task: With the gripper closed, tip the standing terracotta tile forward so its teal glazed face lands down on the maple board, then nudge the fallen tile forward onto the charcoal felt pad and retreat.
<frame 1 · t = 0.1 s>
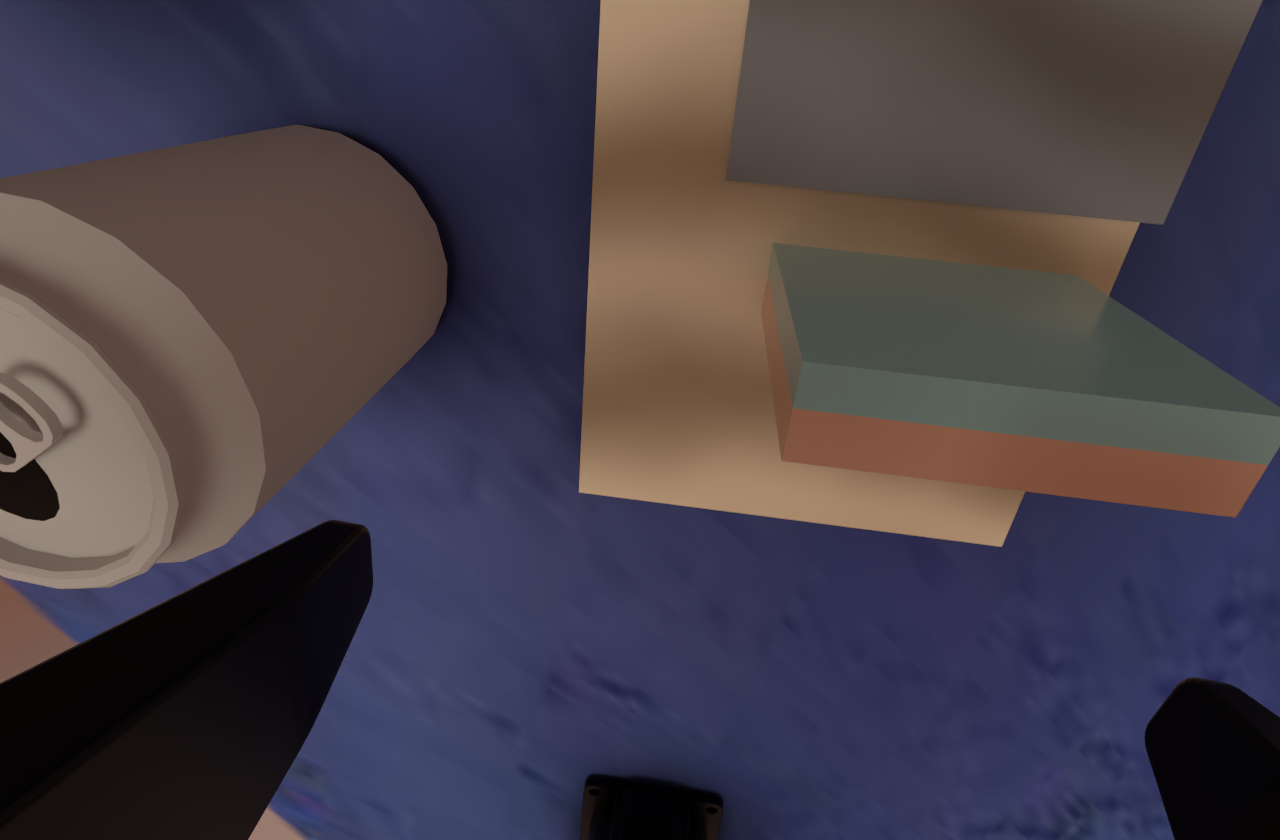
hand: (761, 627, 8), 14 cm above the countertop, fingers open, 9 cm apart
tile: (913, 294, 19), point 1 cm above the countertop, touching board
can: (343, 250, 22), on the countertop
board: (849, 203, 19), on the countertop
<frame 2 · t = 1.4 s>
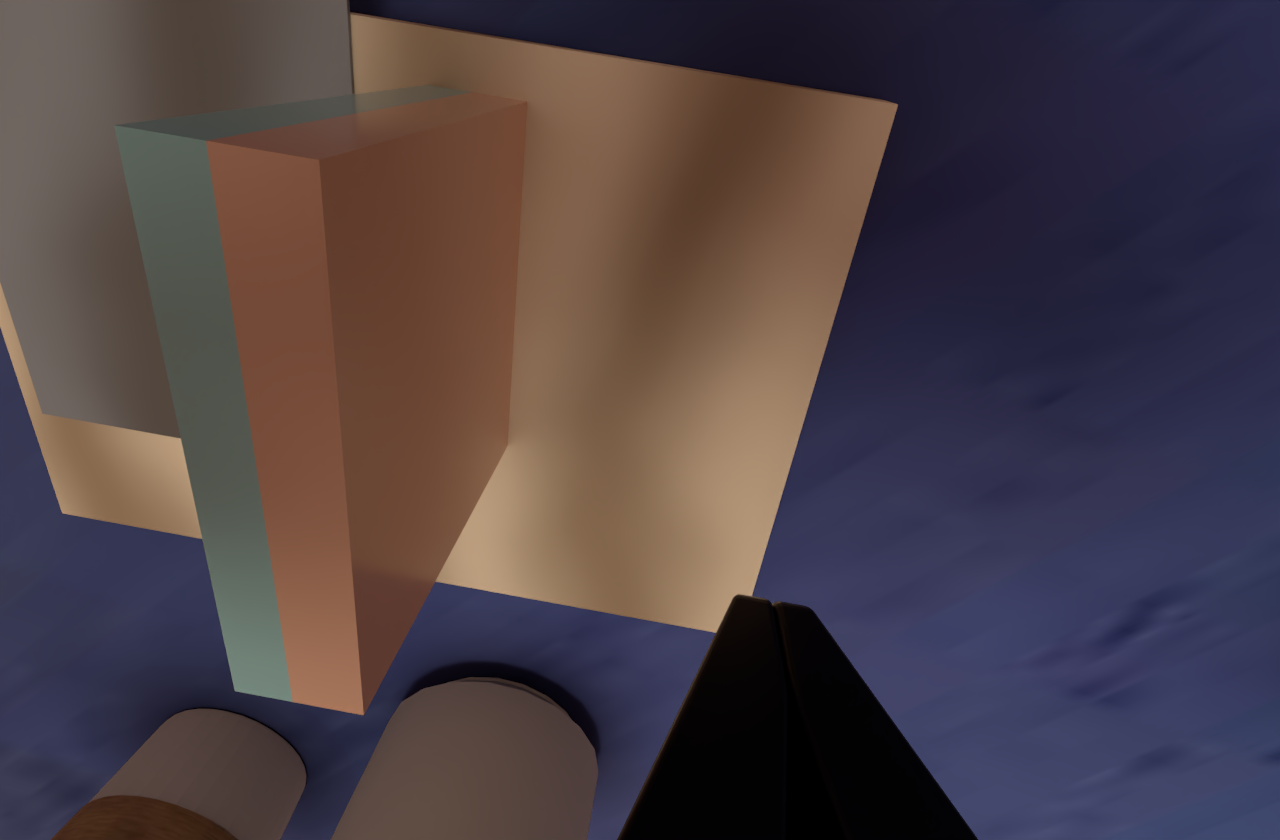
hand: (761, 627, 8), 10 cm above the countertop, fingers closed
tile: (472, 287, 15), point 1 cm above the countertop, touching board
can: (500, 729, 25), on the countertop
coffee cup: (237, 754, 27), on the countertop
board: (408, 335, 18), on the countertop
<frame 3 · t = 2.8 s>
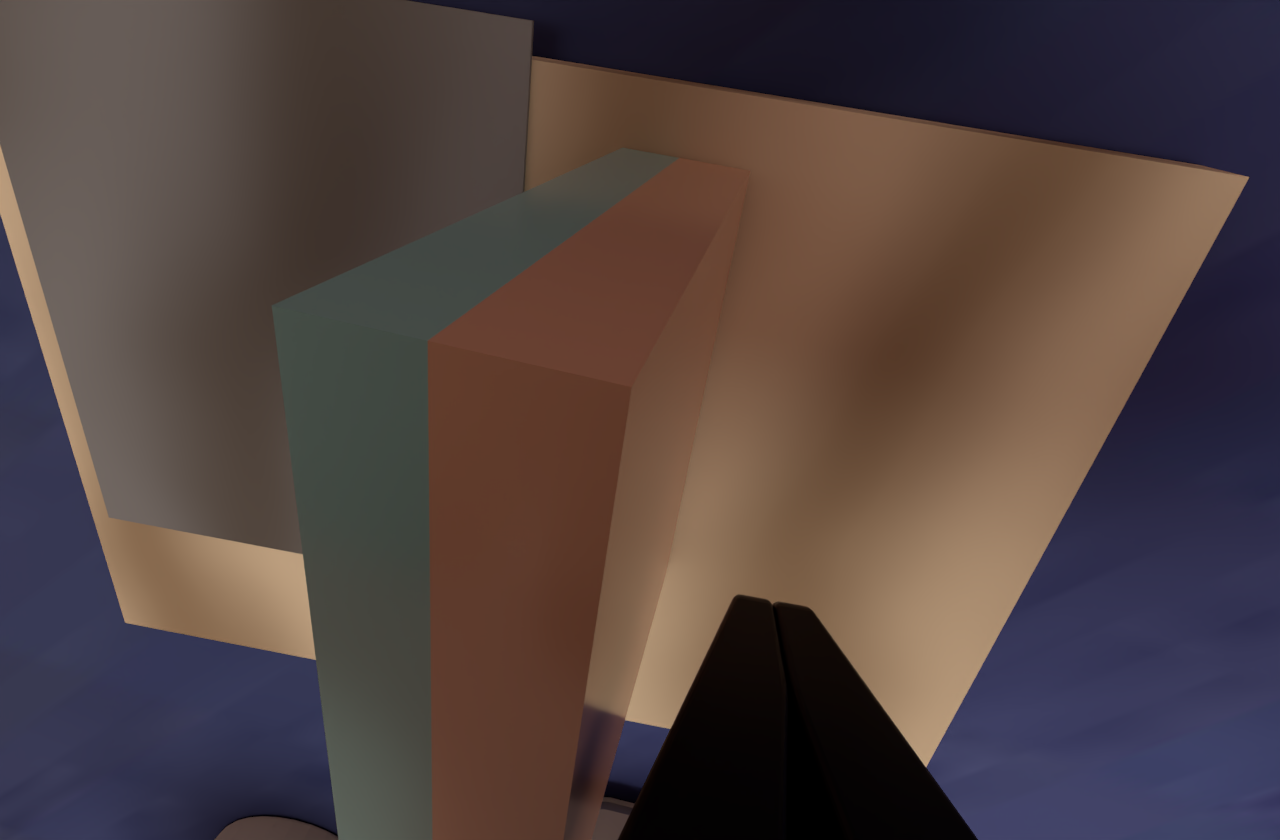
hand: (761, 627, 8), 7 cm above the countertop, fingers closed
tile: (647, 390, 12), point 1 cm above the countertop, tilted 6°, touching board
board: (547, 431, 15), on the countertop
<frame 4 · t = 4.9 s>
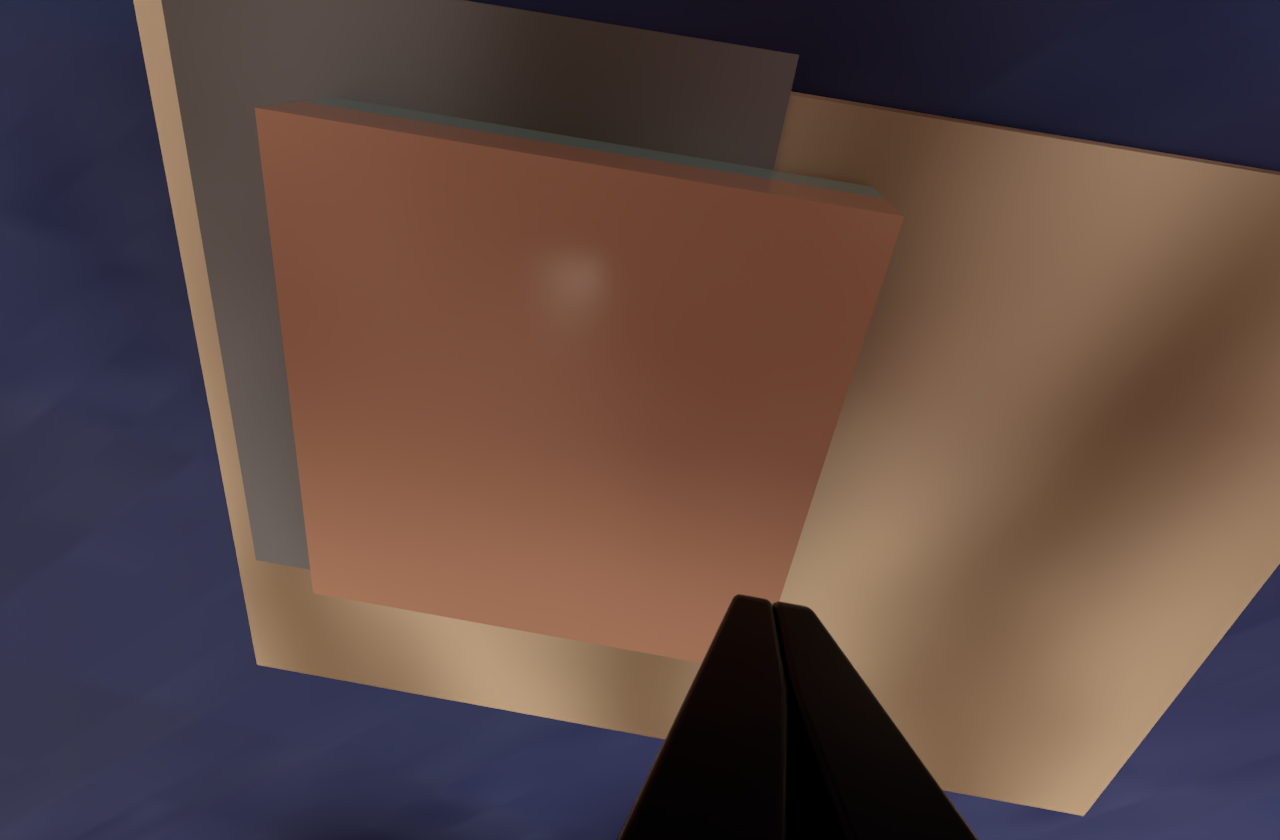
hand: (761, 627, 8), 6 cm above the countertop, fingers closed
tile: (808, 453, 11), point 2 cm above the countertop, tilted 90°, touching board
board: (724, 469, 14), on the countertop
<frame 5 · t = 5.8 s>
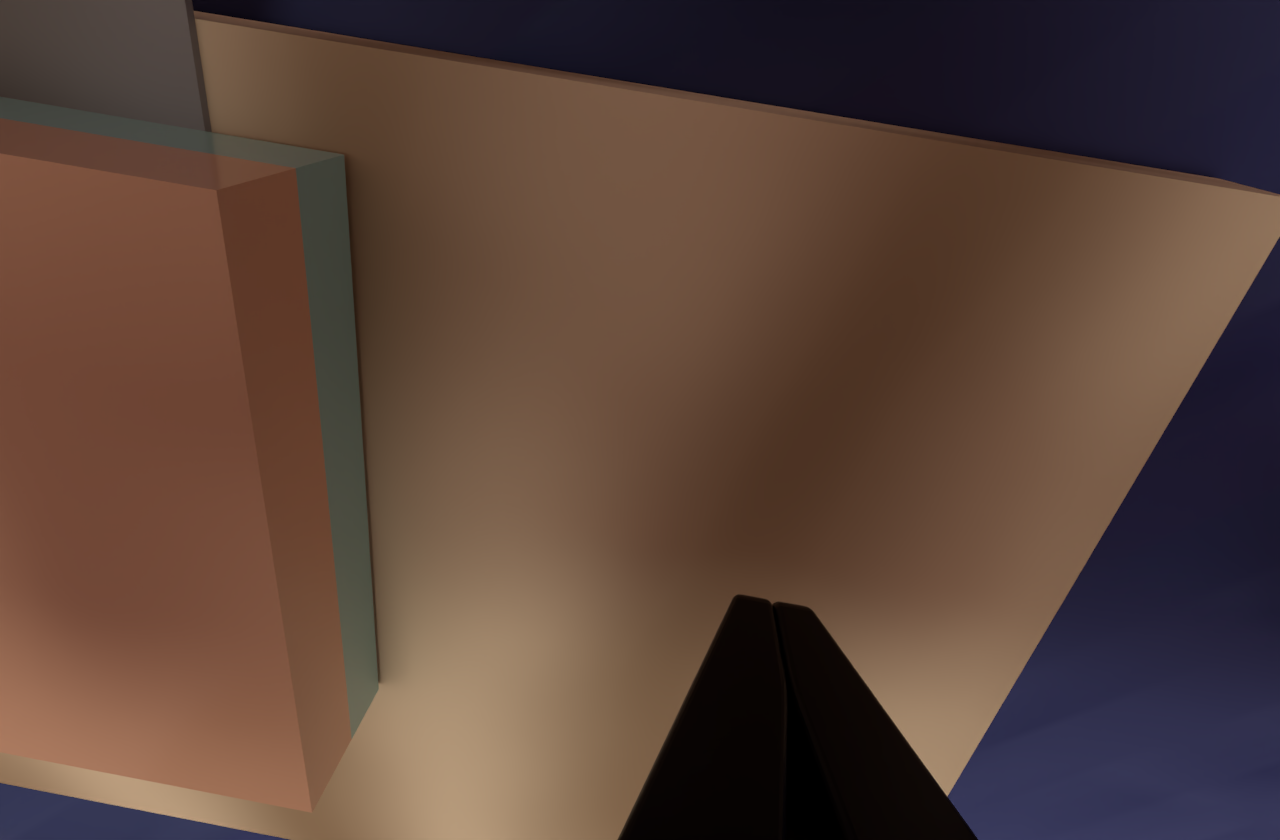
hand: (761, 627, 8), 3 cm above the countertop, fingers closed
tile: (326, 527, 8), point 2 cm above the countertop, tilted 90°, touching board
board: (351, 527, 11), on the countertop
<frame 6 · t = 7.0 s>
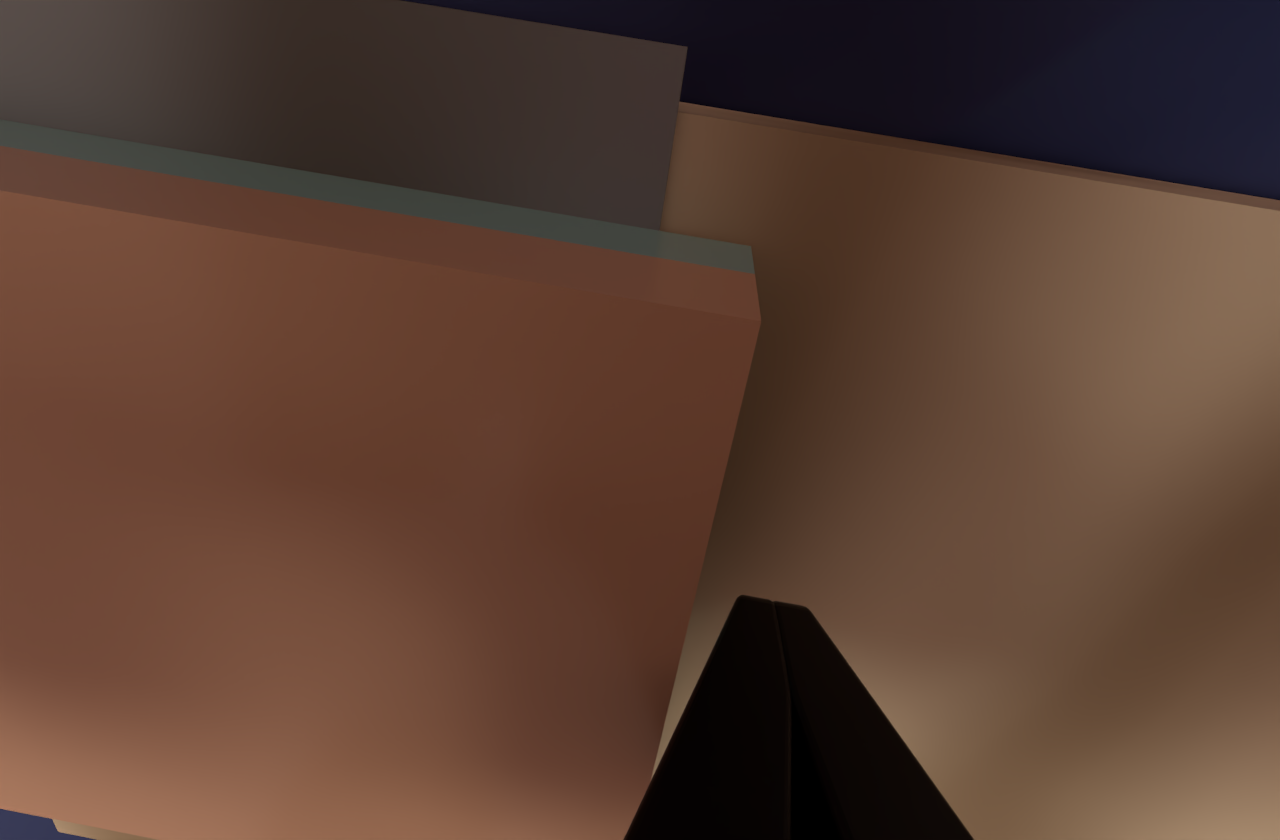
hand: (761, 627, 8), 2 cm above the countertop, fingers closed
tile: (673, 636, 7), point 2 cm above the countertop, tilted 90°, touching board, gripper
board: (638, 612, 10), on the countertop
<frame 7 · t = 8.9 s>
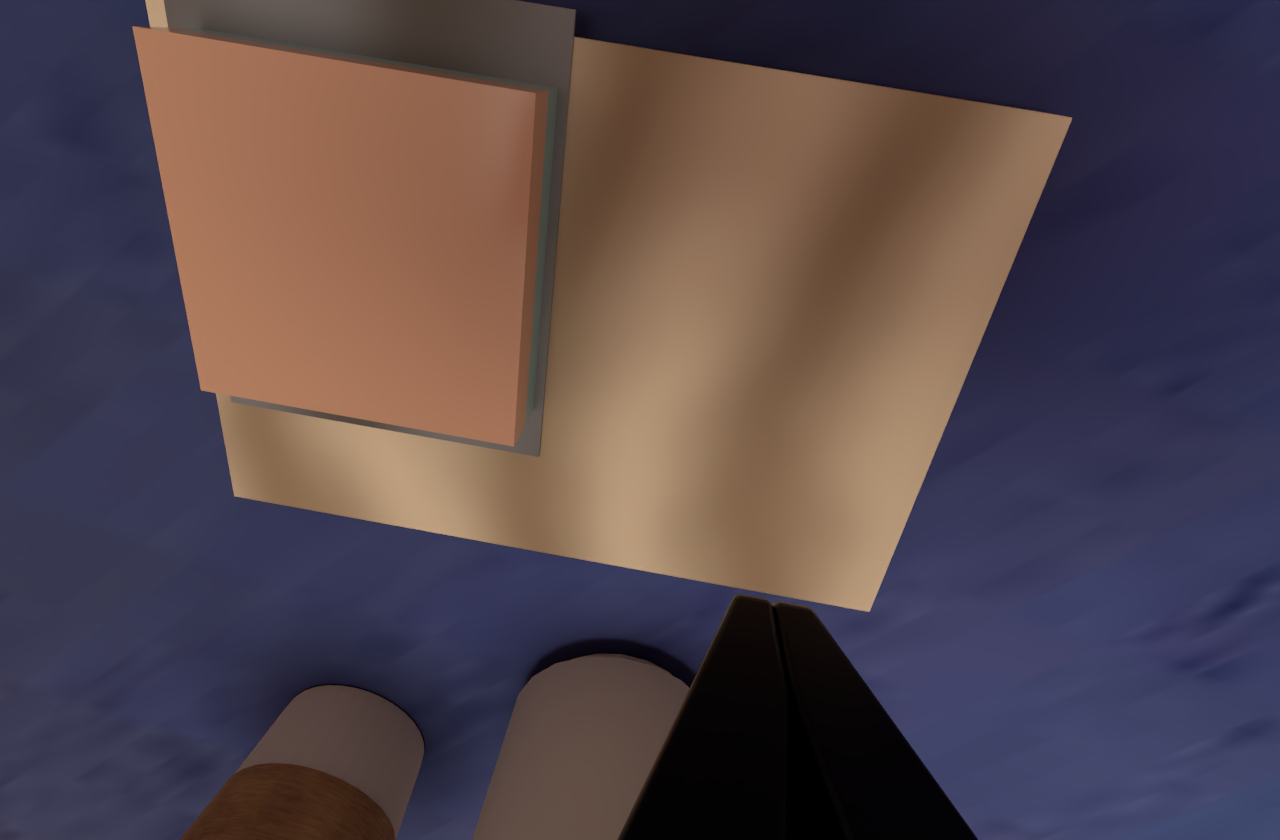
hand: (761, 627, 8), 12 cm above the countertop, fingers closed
tile: (534, 279, 16), point 2 cm above the countertop, tilted 90°, touching board
can: (617, 704, 26), on the countertop
coffee cup: (358, 729, 29), on the countertop
board: (576, 329, 19), on the countertop
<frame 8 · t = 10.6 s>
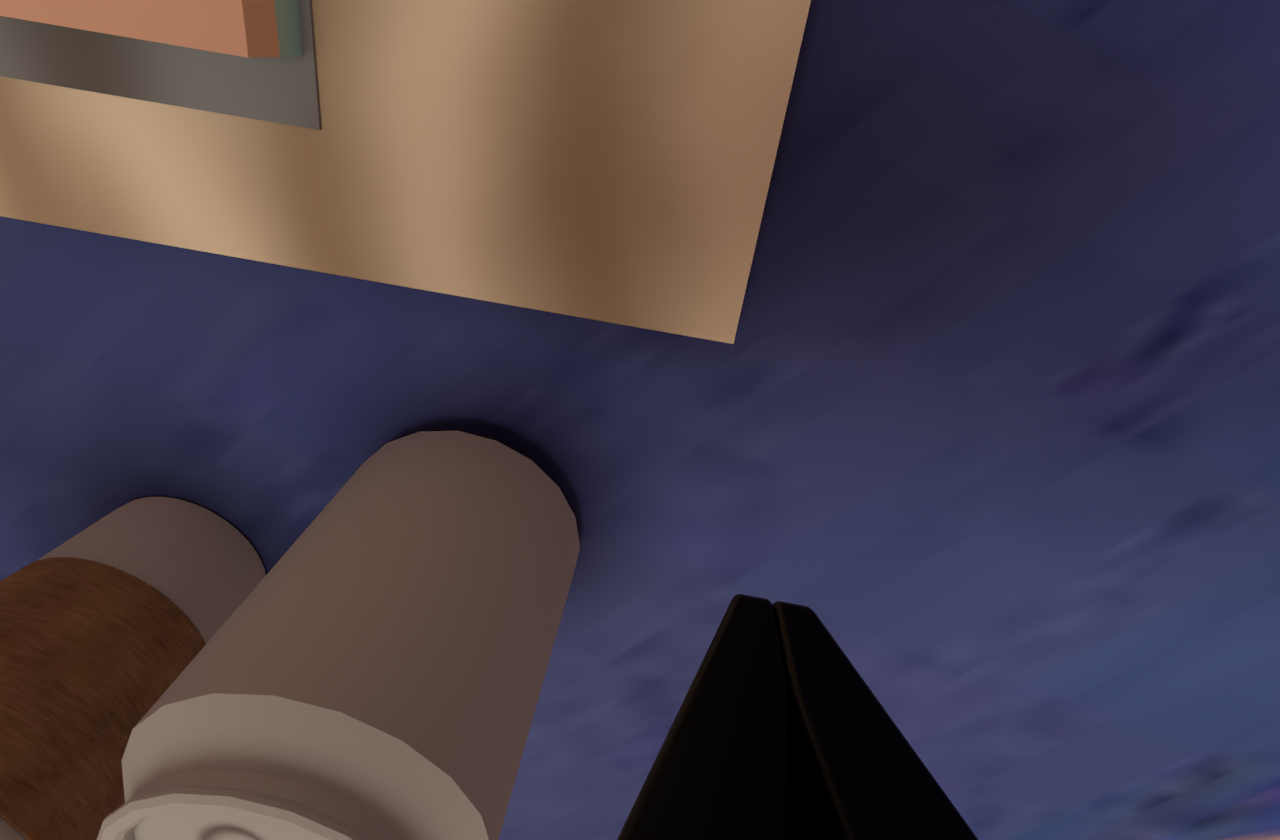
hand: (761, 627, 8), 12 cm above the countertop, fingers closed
can: (474, 512, 23), on the countertop
coffee cup: (193, 558, 25), on the countertop
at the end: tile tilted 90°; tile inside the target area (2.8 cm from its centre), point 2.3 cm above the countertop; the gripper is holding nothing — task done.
